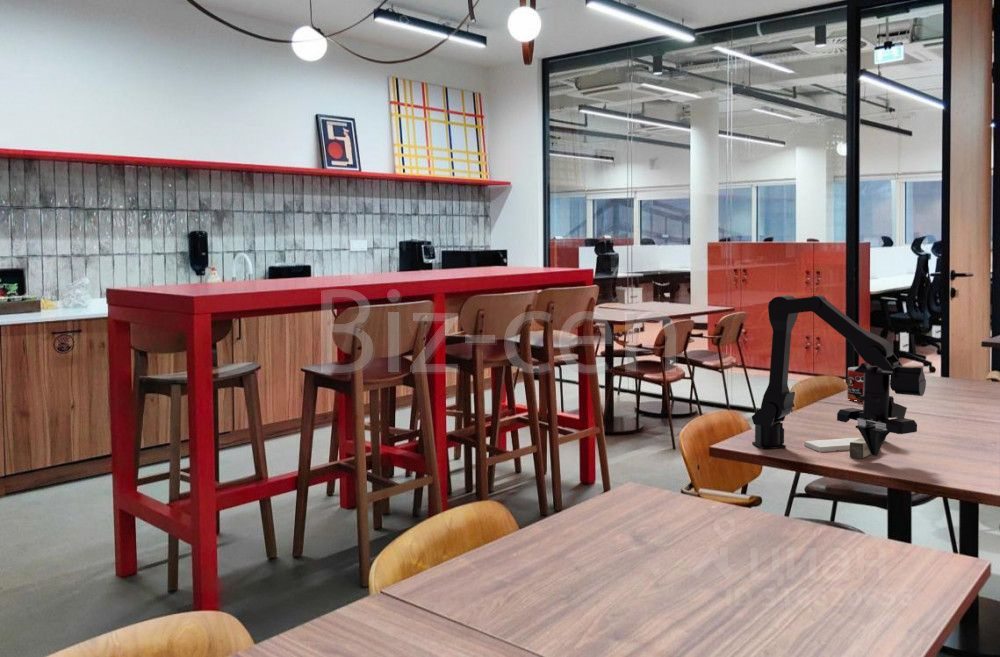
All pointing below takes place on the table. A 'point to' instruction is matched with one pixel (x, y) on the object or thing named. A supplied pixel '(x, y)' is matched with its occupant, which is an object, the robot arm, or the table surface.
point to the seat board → (830, 444)
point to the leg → (859, 449)
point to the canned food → (855, 384)
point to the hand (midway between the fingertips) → (874, 455)
